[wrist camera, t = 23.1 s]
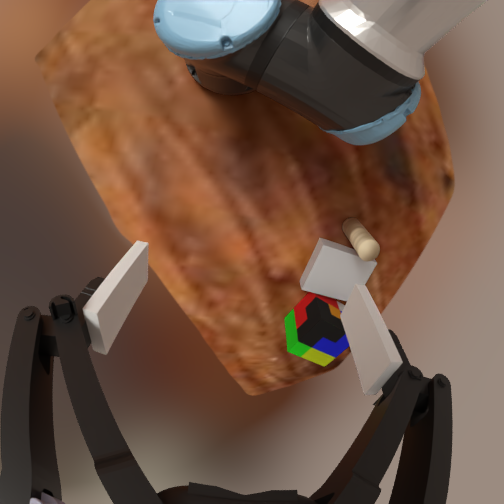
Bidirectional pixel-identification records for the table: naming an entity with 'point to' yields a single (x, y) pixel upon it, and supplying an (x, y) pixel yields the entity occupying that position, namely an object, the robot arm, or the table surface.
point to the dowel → (361, 239)
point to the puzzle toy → (316, 329)
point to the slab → (335, 270)
